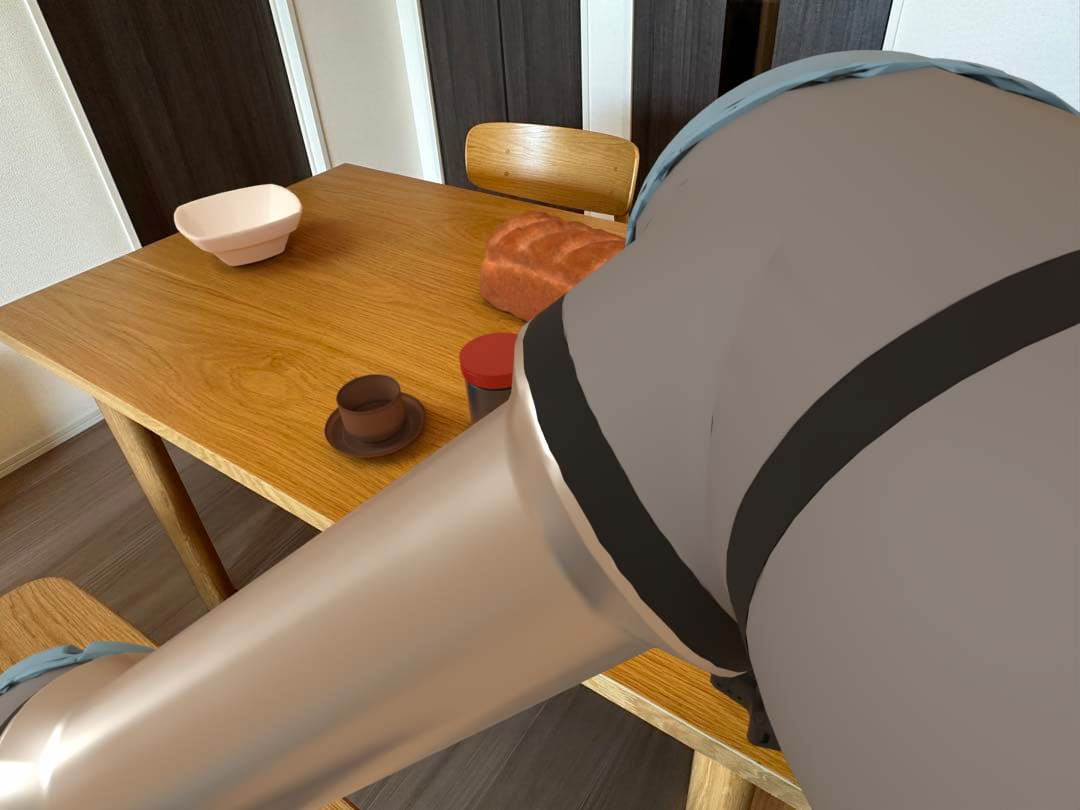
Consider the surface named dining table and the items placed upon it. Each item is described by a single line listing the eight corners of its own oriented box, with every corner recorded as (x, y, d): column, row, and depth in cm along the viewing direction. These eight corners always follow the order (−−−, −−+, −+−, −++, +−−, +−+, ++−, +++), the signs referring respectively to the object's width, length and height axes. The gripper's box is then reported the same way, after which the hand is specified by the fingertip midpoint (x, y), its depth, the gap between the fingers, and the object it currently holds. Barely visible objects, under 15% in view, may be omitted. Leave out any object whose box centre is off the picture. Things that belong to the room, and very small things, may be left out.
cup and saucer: (308, 439, 84) (294, 399, 80) (384, 391, 91) (375, 352, 87) (371, 481, 77) (359, 440, 74) (448, 426, 84) (441, 385, 81)
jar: (507, 462, 79) (499, 388, 72) (458, 434, 83) (447, 362, 77) (552, 426, 83) (549, 354, 77) (504, 402, 88) (496, 331, 81)
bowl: (206, 293, 115) (188, 245, 110) (182, 250, 129) (164, 206, 124) (326, 257, 123) (314, 211, 118) (291, 221, 137) (278, 178, 132)
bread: (537, 263, 117) (533, 187, 109) (695, 324, 100) (703, 239, 92) (469, 299, 109) (458, 220, 101) (628, 373, 91) (631, 284, 83)
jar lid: (499, 337, 82) (497, 324, 81) (553, 362, 77) (552, 348, 76) (445, 370, 77) (443, 356, 76) (499, 398, 73) (498, 385, 71)
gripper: (935, 940, 41) (636, 718, 52) (1037, 647, 55) (784, 523, 67) (978, 896, 36) (640, 663, 48) (1077, 589, 51) (798, 466, 62)
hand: (724, 581), depth 57 cm, fingers open, 13 cm apart
